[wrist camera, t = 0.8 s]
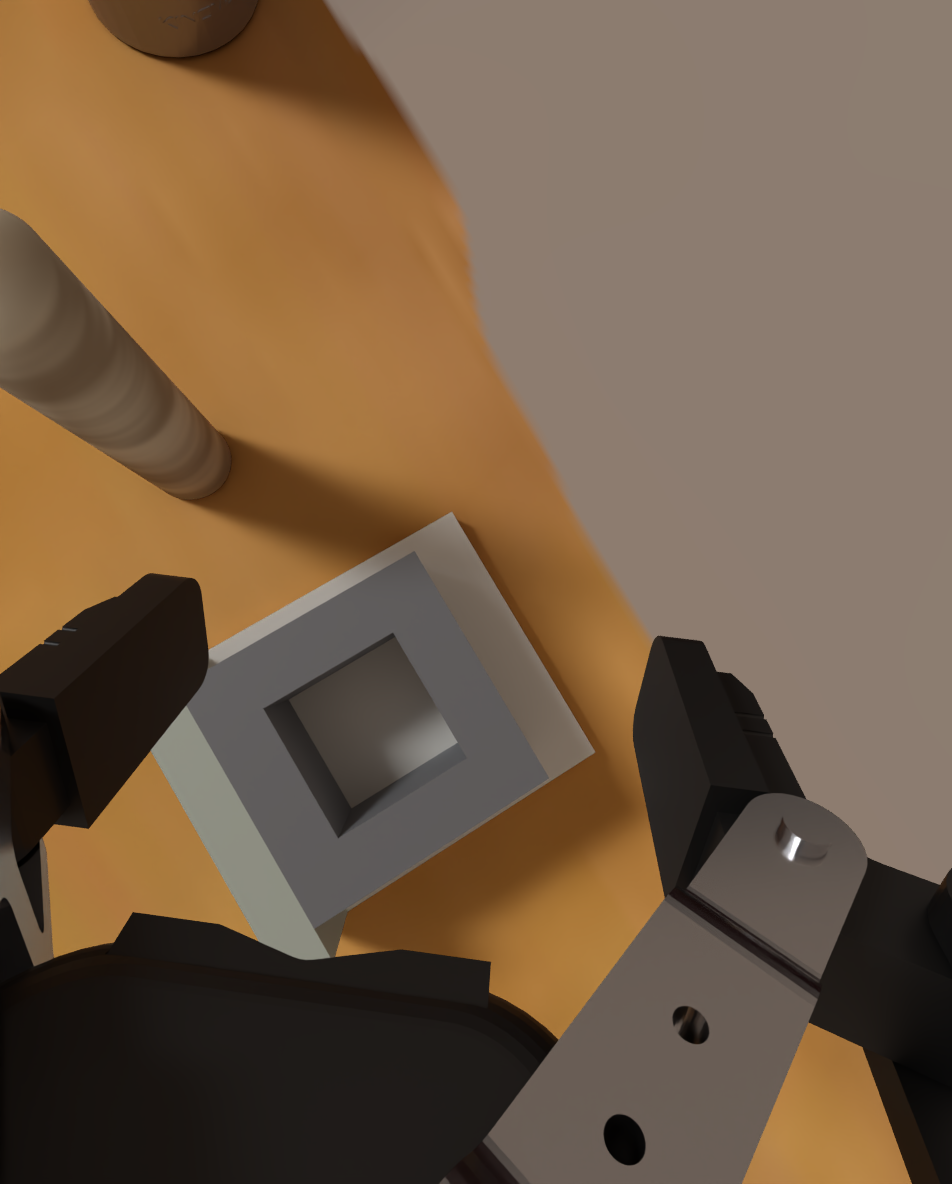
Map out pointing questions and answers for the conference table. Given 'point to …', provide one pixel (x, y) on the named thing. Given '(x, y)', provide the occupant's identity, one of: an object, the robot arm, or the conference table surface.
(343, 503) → the conference table surface
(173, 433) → the dowel
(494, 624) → the dowel dock
